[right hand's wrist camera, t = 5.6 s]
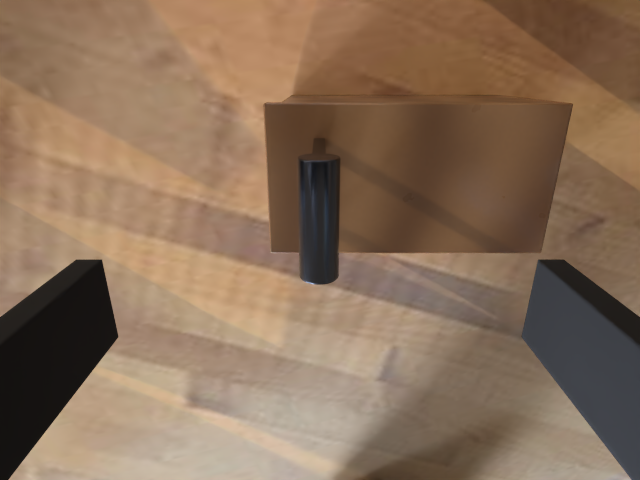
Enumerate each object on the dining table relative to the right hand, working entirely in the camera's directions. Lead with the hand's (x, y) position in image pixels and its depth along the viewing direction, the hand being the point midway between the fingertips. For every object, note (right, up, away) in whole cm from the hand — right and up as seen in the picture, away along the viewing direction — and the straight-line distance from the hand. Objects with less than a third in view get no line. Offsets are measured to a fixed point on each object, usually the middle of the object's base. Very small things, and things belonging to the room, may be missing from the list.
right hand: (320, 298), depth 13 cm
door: (+6, +6, +15) cm, 17 cm away
